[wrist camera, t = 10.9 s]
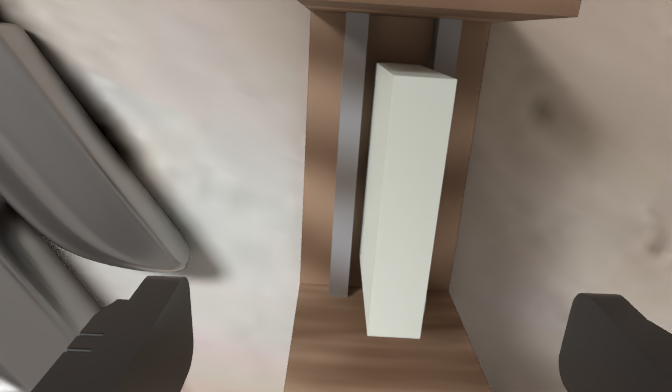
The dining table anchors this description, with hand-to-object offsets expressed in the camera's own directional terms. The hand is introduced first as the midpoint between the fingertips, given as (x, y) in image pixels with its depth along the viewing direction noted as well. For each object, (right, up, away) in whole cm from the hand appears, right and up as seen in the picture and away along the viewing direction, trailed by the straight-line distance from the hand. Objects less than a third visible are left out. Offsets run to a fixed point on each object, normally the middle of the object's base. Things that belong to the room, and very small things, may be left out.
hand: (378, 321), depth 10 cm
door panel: (+2, +5, +19) cm, 20 cm away
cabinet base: (+2, +5, +20) cm, 21 cm away
